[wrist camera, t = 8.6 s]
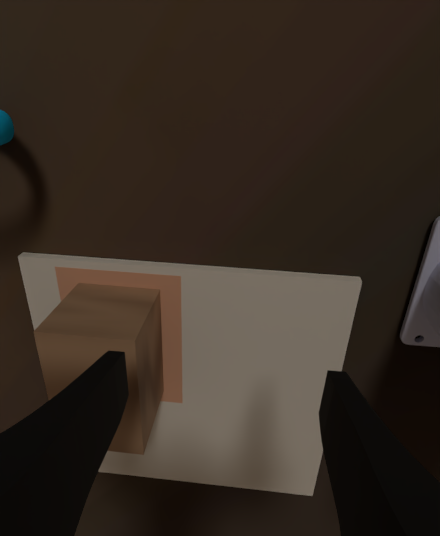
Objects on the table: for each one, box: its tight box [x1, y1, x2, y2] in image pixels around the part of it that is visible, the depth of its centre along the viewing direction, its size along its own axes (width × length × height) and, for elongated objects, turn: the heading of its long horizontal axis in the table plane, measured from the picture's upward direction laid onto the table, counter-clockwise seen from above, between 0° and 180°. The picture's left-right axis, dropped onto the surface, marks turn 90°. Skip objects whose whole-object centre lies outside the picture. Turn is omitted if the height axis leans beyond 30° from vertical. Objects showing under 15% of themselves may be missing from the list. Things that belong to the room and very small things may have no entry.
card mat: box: [18, 252, 362, 496], centre depth 26 cm, size 20×19×1 cm
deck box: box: [34, 283, 164, 455], centre depth 22 cm, size 8×5×5 cm, turn 178°
